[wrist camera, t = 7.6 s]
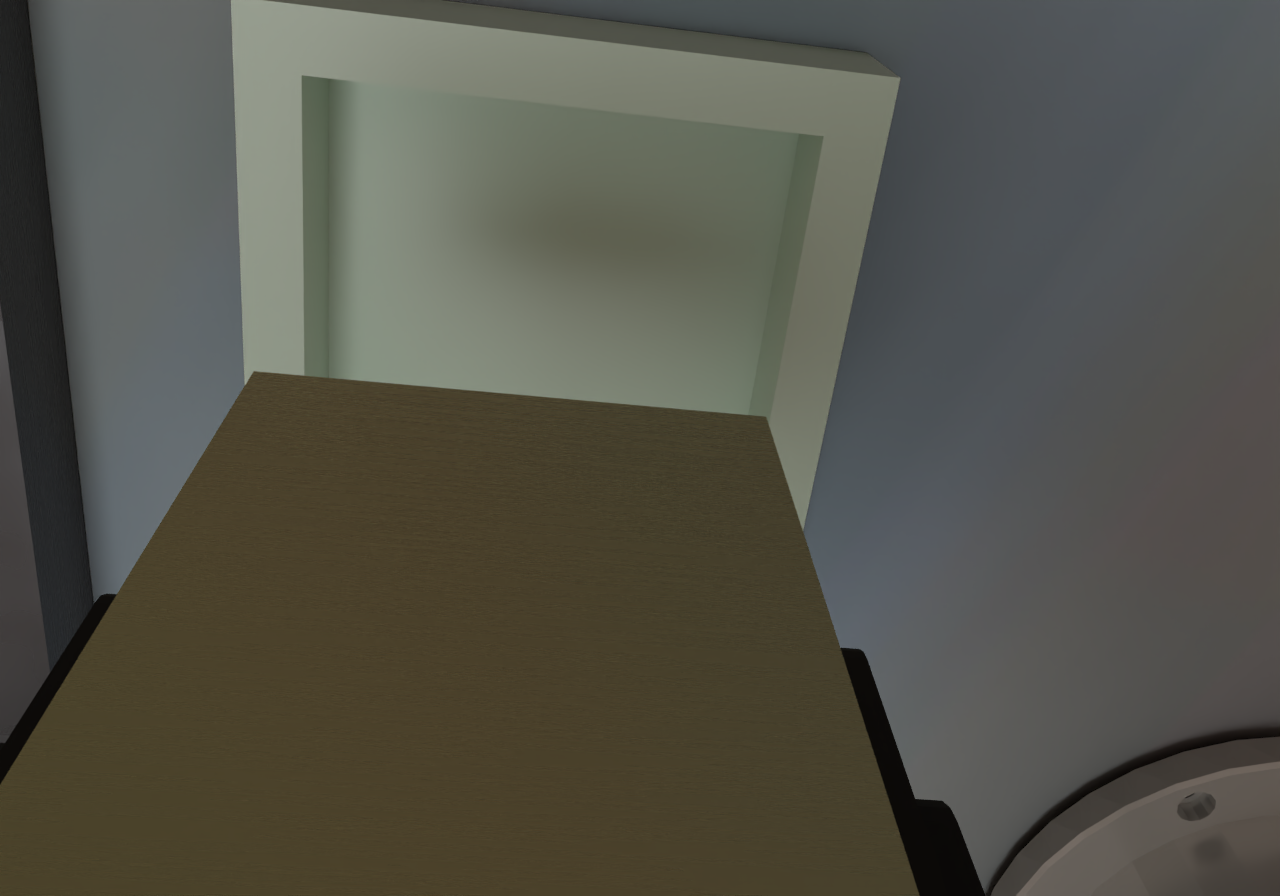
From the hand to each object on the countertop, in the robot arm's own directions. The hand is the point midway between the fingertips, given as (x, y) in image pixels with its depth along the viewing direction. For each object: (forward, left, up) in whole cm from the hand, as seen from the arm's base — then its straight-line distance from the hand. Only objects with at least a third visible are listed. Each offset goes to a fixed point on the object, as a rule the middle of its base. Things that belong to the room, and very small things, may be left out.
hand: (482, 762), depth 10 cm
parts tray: (0, 0, -13) cm, 13 cm away
